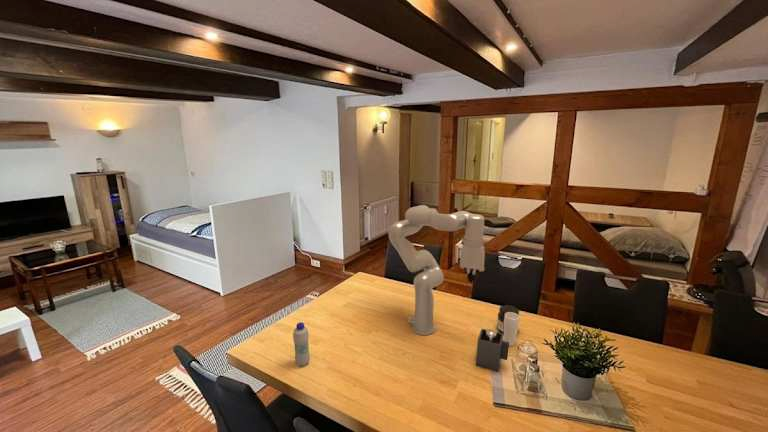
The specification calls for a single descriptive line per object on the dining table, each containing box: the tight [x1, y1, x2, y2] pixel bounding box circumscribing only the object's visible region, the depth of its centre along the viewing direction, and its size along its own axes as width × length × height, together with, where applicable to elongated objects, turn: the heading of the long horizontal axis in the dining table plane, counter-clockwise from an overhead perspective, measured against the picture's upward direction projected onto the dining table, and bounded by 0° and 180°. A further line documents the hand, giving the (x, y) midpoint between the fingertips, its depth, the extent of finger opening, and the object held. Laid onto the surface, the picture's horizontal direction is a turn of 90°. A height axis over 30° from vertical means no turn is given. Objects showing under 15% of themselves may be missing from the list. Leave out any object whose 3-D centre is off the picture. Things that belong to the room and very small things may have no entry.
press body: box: [475, 328, 510, 373], centre depth 148 cm, size 12×10×13 cm
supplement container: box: [496, 304, 521, 334], centre depth 173 cm, size 10×10×12 cm
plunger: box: [486, 328, 497, 342], centre depth 148 cm, size 7×7×12 cm
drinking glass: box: [503, 312, 520, 347], centre depth 162 cm, size 7×7×15 cm
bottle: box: [292, 322, 311, 367], centre depth 147 cm, size 7×7×20 cm
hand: (470, 281), depth 150 cm, fingers closed
